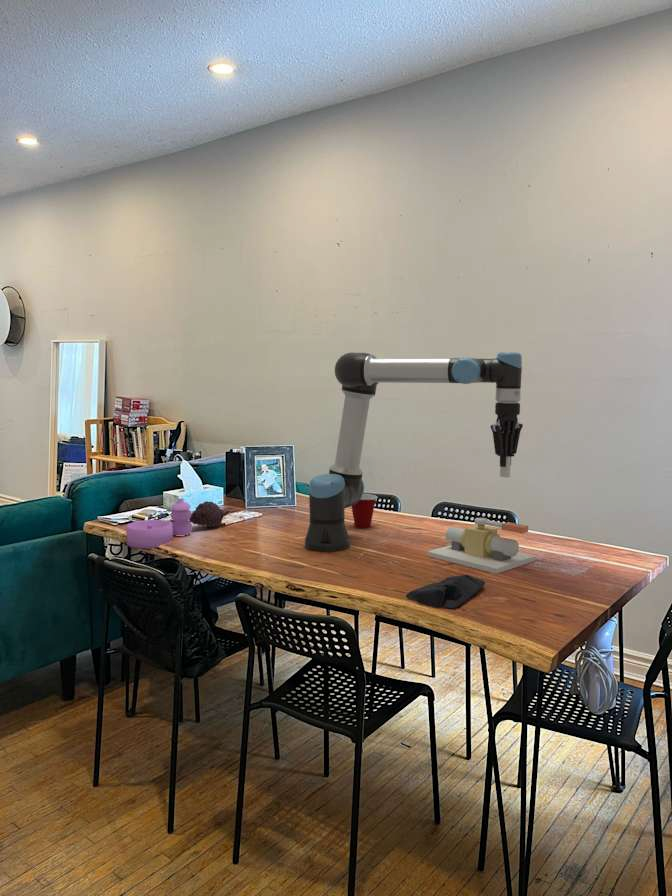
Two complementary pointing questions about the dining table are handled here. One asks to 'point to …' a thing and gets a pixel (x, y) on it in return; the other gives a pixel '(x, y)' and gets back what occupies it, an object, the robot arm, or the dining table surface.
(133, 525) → the container set
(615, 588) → the dining table surface
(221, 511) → the pine cone
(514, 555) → the pipe board
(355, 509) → the plastic cup
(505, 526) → the valve lever
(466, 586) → the black crumpled cloth
